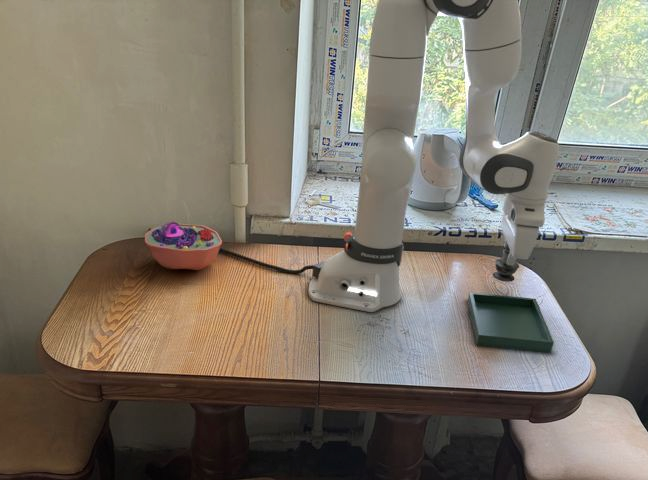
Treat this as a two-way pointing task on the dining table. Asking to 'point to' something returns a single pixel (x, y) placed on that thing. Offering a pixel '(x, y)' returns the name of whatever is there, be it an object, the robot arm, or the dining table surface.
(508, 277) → the dark grey chess piece
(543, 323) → the tray
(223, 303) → the dining table surface
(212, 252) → the cell model
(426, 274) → the dining table surface
